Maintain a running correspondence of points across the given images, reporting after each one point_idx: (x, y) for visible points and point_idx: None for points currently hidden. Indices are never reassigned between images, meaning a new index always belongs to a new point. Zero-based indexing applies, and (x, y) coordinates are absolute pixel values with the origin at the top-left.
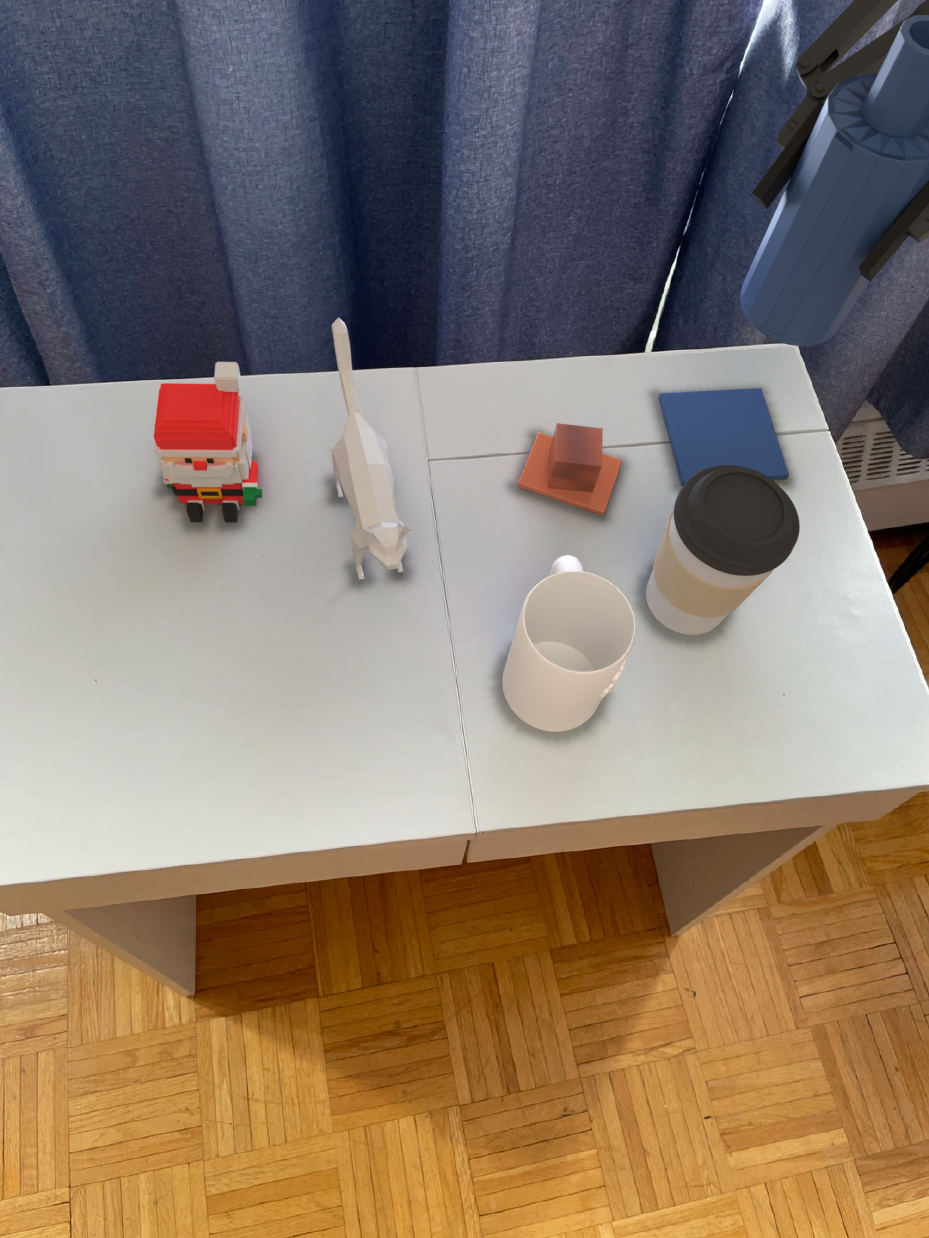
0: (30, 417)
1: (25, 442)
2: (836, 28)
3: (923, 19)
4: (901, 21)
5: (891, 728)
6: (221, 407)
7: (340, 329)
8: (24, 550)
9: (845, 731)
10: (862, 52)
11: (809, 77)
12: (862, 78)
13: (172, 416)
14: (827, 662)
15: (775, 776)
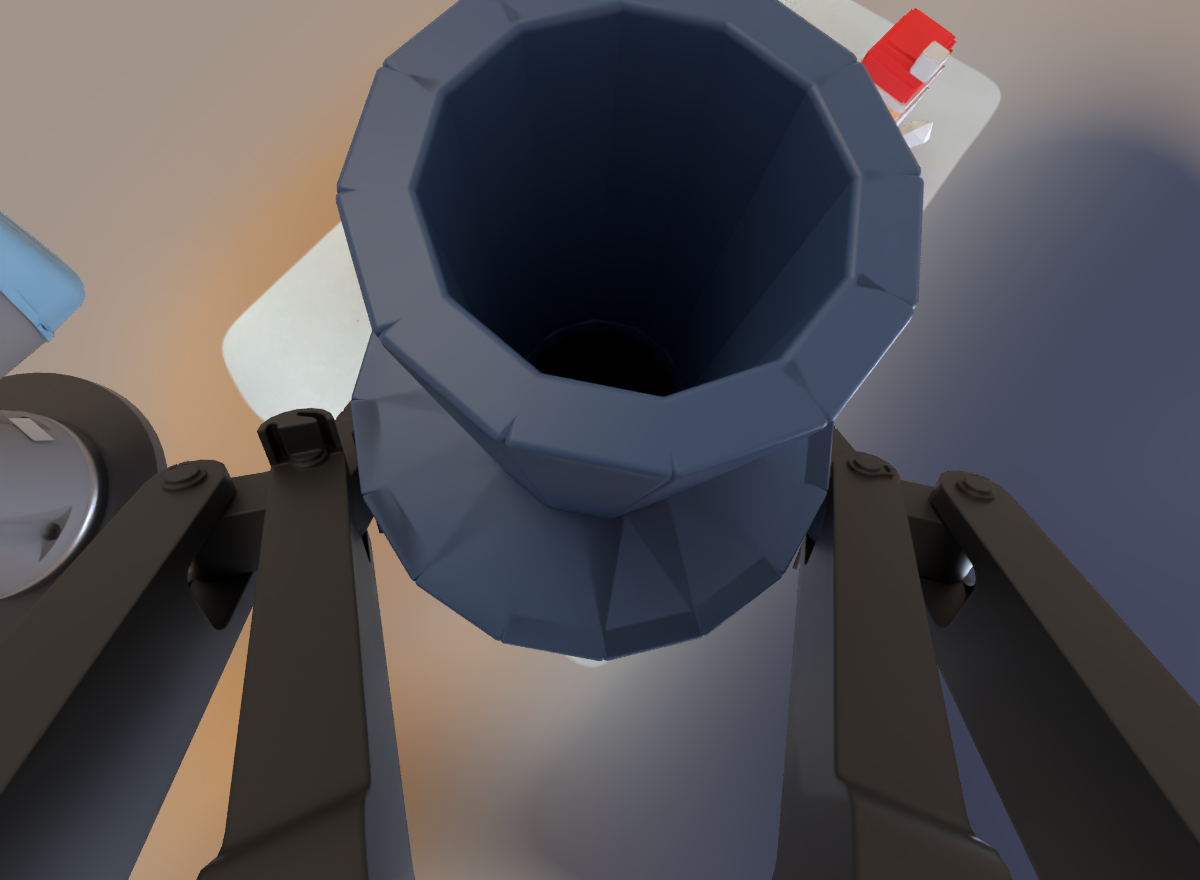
0: (984, 88)
1: (964, 73)
2: (1073, 597)
3: (844, 304)
4: (955, 762)
5: (257, 363)
6: (902, 49)
7: (918, 122)
8: (876, 23)
9: (292, 331)
10: (903, 577)
11: (921, 496)
12: (801, 498)
13: (917, 17)
14: (341, 375)
15: (323, 257)
